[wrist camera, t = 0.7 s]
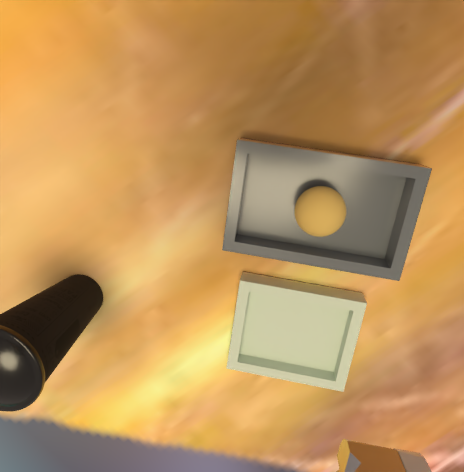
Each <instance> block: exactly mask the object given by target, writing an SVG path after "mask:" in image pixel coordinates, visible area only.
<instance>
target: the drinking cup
mask: <svg viewBox="0 0 464 472" xmlns="http://www.w3.org/2000/svg"><path fill="white" fill-rule="evenodd" d="M102 302H103V294H102V291H101V289H100V287H99V285H98V284H97V283H96V282H95V281H94V280H93V279H91V278H90V277H88V276H85V275H72V276H70V277H68V278H66V279H64V280H63V281H61V282H59V283H57V284H55V285H53V286H52V287H50V288H48V289H46V290H44V291H42V292H41V293H39V294H37V295H35V296H33V297H31V298H30V299H28V300H26V301H24V302H22V303H20V304H19V305H17V306H15V307H13V308H11V309H9V310H8V311H6V312H4V313H2V314H0V411H17V410H21V409H23V408H26V407H28V406H29V405H31V404H32V403H33V402H34V401H35V400H36V399H37V398H38V397H39V395H40V394H41V392H42V390H43V387H44V383H45V382H46V380H47V379H48V378H49V376H50V375H51V374H52V372H53V371H54V370H55V368H56V367H57V366H58V364H59V363H60V361H61V360H62V359H63V357H64V356H65V355H66V353H67V352H68V351H69V349H70V348H71V347H72V345H73V344H74V342H75V341H76V340H77V338H78V337H79V336H80V334H81V333H82V332H83V330H84V329H85V328H86V326H87V325H88V323H89V322H90V321H91V319H92V318H93V317H94V315H95V314H96V313H97V311H98V310H99V309H100V307H101V305H102Z"/></svg>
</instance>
